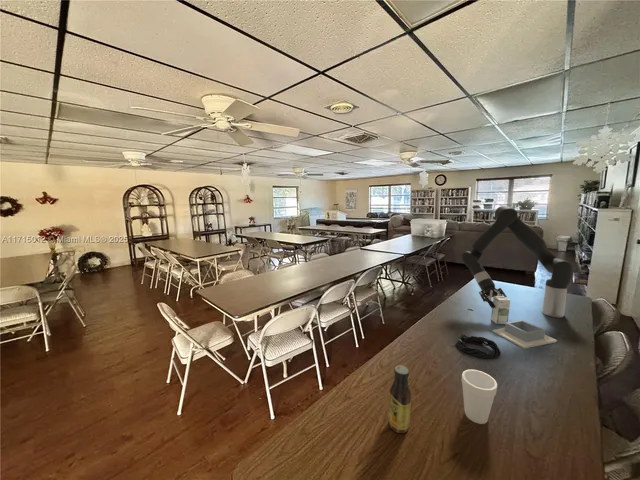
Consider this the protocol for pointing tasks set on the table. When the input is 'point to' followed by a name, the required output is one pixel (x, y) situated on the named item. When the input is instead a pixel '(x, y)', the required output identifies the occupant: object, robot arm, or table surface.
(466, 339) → the cable
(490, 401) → the foam cup
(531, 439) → the table surface
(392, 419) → the sauce bottle
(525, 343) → the end holder
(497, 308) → the syrup box
